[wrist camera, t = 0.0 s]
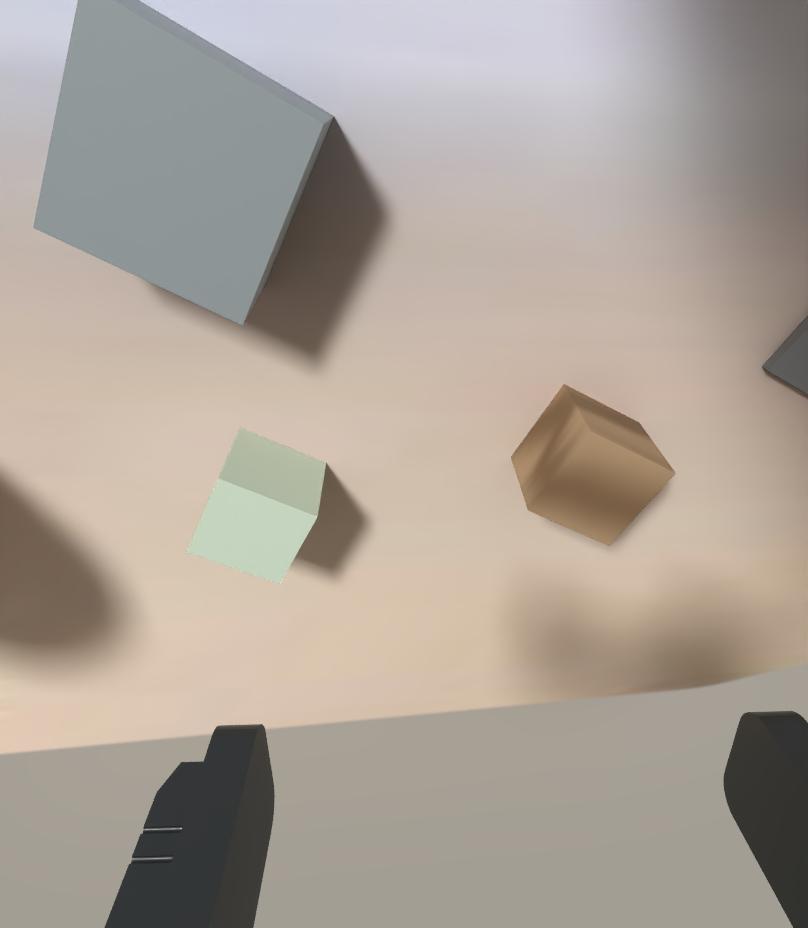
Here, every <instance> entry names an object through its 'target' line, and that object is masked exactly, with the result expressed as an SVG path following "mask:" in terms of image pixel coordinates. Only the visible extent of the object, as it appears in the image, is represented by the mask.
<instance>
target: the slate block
mask: <svg viewBox="0 0 808 928" xmlns="http://www.w3.org/2000/svg"><path fill="white" fill-rule="evenodd" d="M333 118H334V116H333V115H331V114H329V113H328V112H326V111H324V110H323V109H321V108H319V107H318V106H316V105H314V104H313V103H311V102H309V101H308V100H306V99H304V98H303V97H301V96H299V95H297V94H296V93H294V92H292V91H291V90H289V89H287V88H286V87H284V86H282V85H281V84H279V83H277V82H276V81H274V80H272V79H270V78H269V77H267V76H265V75H264V74H262V73H260V72H259V71H257V70H255V69H254V68H252V67H250V66H249V65H247V64H245V63H243V62H242V61H240V60H238V59H237V58H235V57H233V56H232V55H230V54H228V53H227V52H225V51H223V50H222V49H220V48H218V47H216V46H215V45H213V44H211V43H210V42H208V41H206V40H205V39H203V38H201V37H200V36H198V35H196V34H195V33H193V32H191V31H189V30H188V29H186V28H184V27H183V26H181V25H179V24H178V23H176V22H174V21H173V20H171V19H169V18H168V17H166V16H164V15H163V14H161V13H159V12H157V11H156V10H154V9H152V8H151V7H149V6H147V5H146V4H144V3H142V2H141V1H139V0H78V3H77V8H76V13H75V18H74V23H73V28H72V34H71V39H70V44H69V49H68V54H67V59H66V64H65V69H64V74H63V79H62V85H61V90H60V95H59V100H58V105H57V110H56V115H55V120H54V125H53V130H52V136H51V141H50V146H49V151H48V156H47V161H46V166H45V171H44V176H43V182H42V187H41V192H40V197H39V202H38V207H37V212H36V217H35V222H34V227H33V228H35V229H37V230H39V231H41V232H44V233H46V234H48V235H50V236H52V237H54V238H56V239H59V240H61V241H63V242H65V243H67V244H69V245H71V246H73V247H76V248H78V249H80V250H82V251H84V252H86V253H88V254H91V255H93V256H95V257H97V258H99V259H101V260H103V261H106V262H108V263H110V264H112V265H114V266H116V267H118V268H120V269H123V270H125V271H127V272H129V273H131V274H133V275H135V276H138V277H140V278H142V279H144V280H146V281H148V282H150V283H153V284H155V285H157V286H159V287H161V288H163V289H165V290H167V291H170V292H172V293H174V294H176V295H178V296H180V297H182V298H185V299H187V300H189V301H191V302H193V303H195V304H197V305H200V306H202V307H204V308H206V309H208V310H210V311H212V312H214V313H217V314H219V315H221V316H223V317H225V318H227V319H229V320H232V321H234V322H236V323H238V324H240V325H243V324H244V322H245V320H246V318H247V317H248V315H249V313H250V312H251V310H252V308H253V306H254V305H255V303H256V301H257V299H258V298H259V296H260V294H261V293H262V291H263V289H264V286H265V284H266V281H267V279H268V277H269V274H270V272H271V269H272V267H273V264H274V262H275V259H276V257H277V255H278V252H279V250H280V247H281V245H282V242H283V240H284V237H285V235H286V233H287V230H288V228H289V225H290V223H291V220H292V218H293V215H294V213H295V210H296V208H297V206H298V203H299V201H300V198H301V196H302V193H303V191H304V188H305V186H306V184H307V181H308V179H309V176H310V174H311V171H312V169H313V166H314V164H315V162H316V159H317V157H318V154H319V152H320V149H321V147H322V144H323V142H324V140H325V137H326V135H327V132H328V130H329V127H330V125H331V122H332V120H333Z"/></svg>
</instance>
